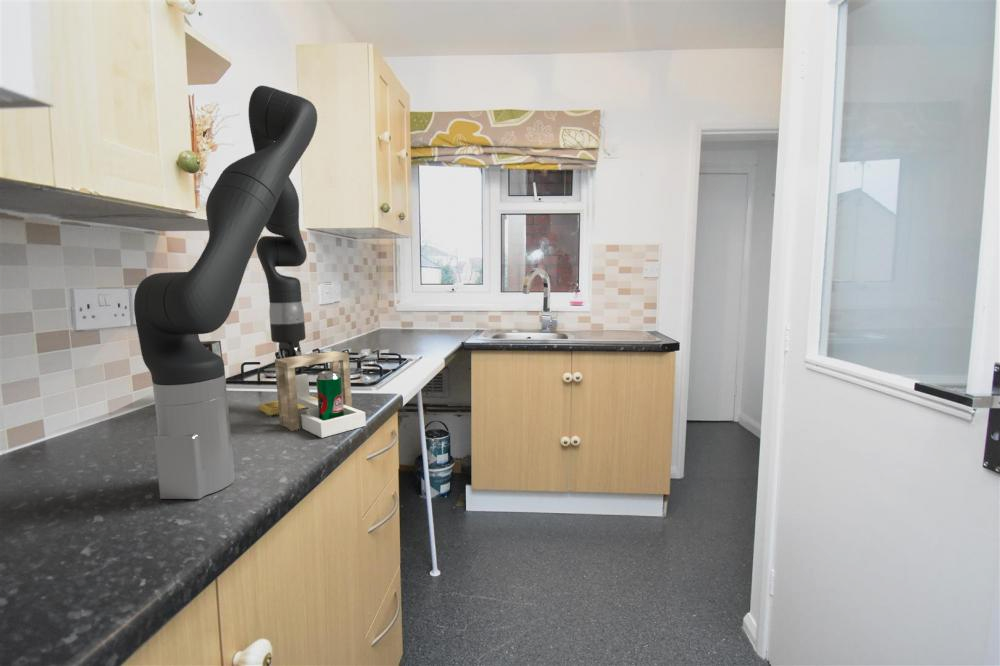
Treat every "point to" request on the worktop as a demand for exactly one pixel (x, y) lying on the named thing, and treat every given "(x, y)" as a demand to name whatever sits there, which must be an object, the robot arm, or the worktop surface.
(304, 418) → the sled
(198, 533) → the worktop surface
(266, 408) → the yellow rectangular frame
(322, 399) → the soda can
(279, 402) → the tunnel
